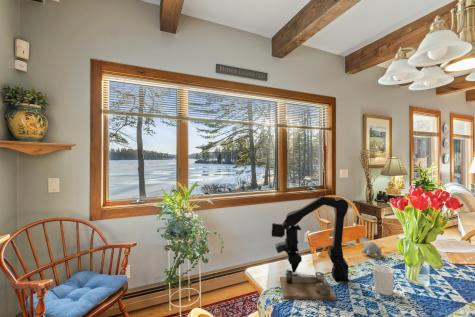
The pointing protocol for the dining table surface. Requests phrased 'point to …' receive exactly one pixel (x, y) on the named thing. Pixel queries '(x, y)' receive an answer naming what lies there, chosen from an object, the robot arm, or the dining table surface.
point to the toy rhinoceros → (371, 249)
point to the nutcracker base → (307, 290)
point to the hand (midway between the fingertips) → (292, 268)
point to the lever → (304, 278)
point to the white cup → (383, 279)
